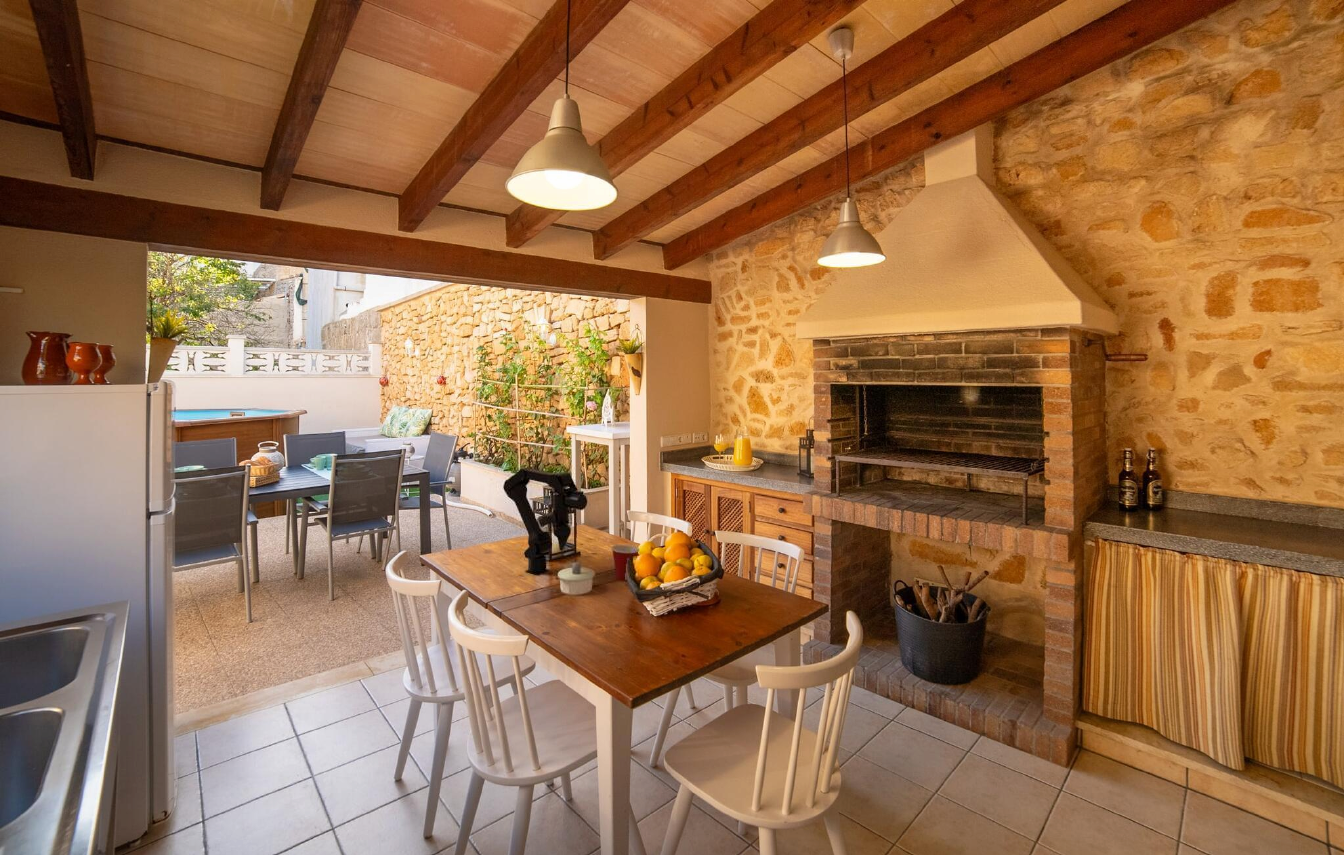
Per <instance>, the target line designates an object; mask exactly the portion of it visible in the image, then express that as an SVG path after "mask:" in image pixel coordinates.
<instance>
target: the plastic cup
mask: <svg viewBox="0 0 1344 855" xmlns="http://www.w3.org/2000/svg"><path fill="white" fill-rule="evenodd" d="M611 551H612V556H613V562H614V563H613V564H614V570H615V575H616V579H617V581H618V580H619V581H622V582H623V581H625V573H626V564H627V558H629V557H630V556H636V555H637V556H638V553H639V552H640V548H639V547H637V546H632V545H627V544H626V545H624V544H617V545H612V546H611Z"/></svg>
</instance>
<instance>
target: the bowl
mask: <svg viewBox="0 0 1344 855" xmlns="http://www.w3.org/2000/svg"><path fill="white" fill-rule="evenodd" d="M559 580H560V581H559V582H560V584H559V588H560V592H561V593H563V594H565V595H568V596H580V595H586V594H588V593H590V592H591V591H592V588H593V578H592V579H590V580H587V581H582V582H568V581H563V580H561V579H559Z"/></svg>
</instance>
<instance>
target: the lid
mask: <svg viewBox="0 0 1344 855" xmlns="http://www.w3.org/2000/svg"><path fill="white" fill-rule="evenodd" d="M595 574H596V573H595V571H594V570H593V569H591V568H588V567H582V563H581V562H578V561H577V562H572V566H571V567H569V568H568V567H567V568H564V569H561V570H559V572H557V578H558V579H559V580H560V579H561V580H563V581H568V582H582V581H587V580H590V579H592V580H593V579H594V578H595V576H596V575H595Z"/></svg>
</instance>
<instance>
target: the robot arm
mask: <svg viewBox="0 0 1344 855" xmlns="http://www.w3.org/2000/svg"><path fill="white" fill-rule="evenodd" d="M530 481H534V482H538V483H543V484H546V485H548V486H549V487H550V488H551V490H549V494H550V495H551V494H552V495H553V508H552V511H551V512H548V513H545V514H542V515H539V516H537V518H536V516H535V512H534V510H533V508H532V506H531V504H530V501H529V500H528V497H527V496H528V495H527V493H528V487H527V486H528V485H529V483H530ZM502 487H503V488H502V489H503V490H504V493H505V494H506V496H507V498H509V499H510V500H512V502H514V503H515V506H516V508H517V511H518V513H519V515H520V518H521V520H522V522H523V525H524V527H525V529H526V531H527V534H528V537H527V539H528V540H527V545H528V547H527V548H526V550H524V551H523V553H524V554H523V555H524V559H525V558H526V559H528V564H527V565H528V568H527V569H526V570H525V573H529V574H532V575H536V576H539V575H541V574H544V573H546V572H549V569H548V568H547V556H549V555H550V553H551V551H552V548H553V547H552V546H553V542H552V541H553V539H552V537H551V536H550V532H549V531H548V530H546V531H544V530H542V528H544V527H545V526H548V525H550V524H551V525H552V528H553V530H552V534H553V535H554V537H556V538H557V541H558V542H557V543H558V547H559V551H560V552H561V551H564V548H565V546H566V544H567V541H568V539H569V538H570V536H571V534H572V532H571V531H572V528H571V526H570V525H569V524H570V517H569V516H570V509H573V510H578V511H584V510H585V509H586V507H587V505H588V498H587V496H586V495H585V494H584V490H578V487H577V485H576V484H575V482H574V479H573V478H572V476H571V474H570V472H565V471H564V472H551V471H550V472H549V471H544V470H541V469H535V468H532V467H524V468H520V469H519V470H518V471H516V473H515V474H513V475H512V476H510V477H509V478H508V479H506V480H505V481H504V483H503V485H502Z"/></svg>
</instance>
